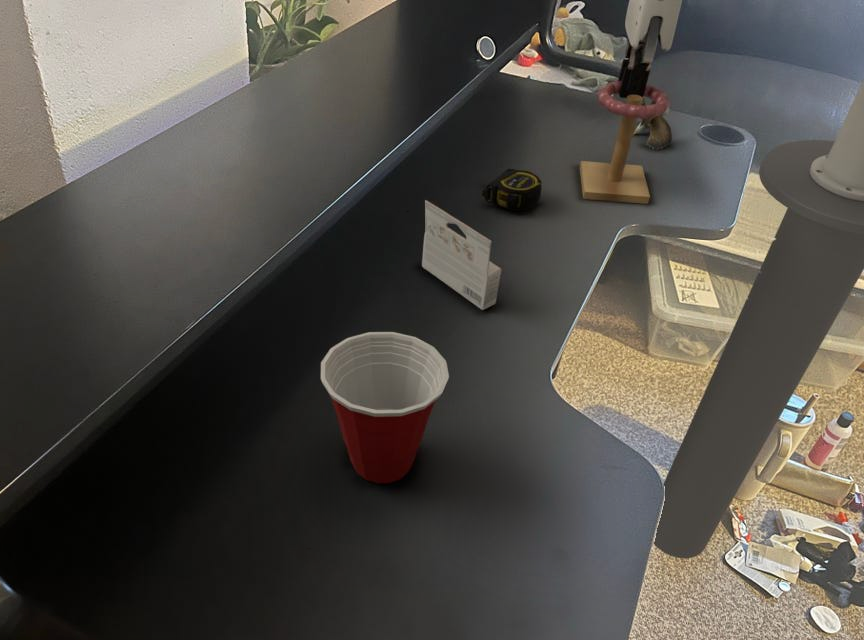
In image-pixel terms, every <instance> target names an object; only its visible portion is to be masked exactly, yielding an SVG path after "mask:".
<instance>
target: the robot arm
mask: <svg viewBox="0 0 864 640" xmlns="http://www.w3.org/2000/svg"><path fill="white" fill-rule="evenodd" d="M682 2H683V0H629V1H628V5H627V10H626V15H625V22H624V24H625V25H624V26H625V31H626V35H627V38H628V39H627V43H626V47H625V52H624V58H622V62H621V67H620V71H619V75H618V79H617V81H622V83H621V87H620V91H619V94H618V96H619V98H621V99H627V97H628V95H639V96H641V97H642V98H644V97H645V96H644V92H645V88H646V84H648V81H649V78H650V77H649V76H650V73H651V68H652V65H653V62H654V58H655V53H656V50H657V46H658V43H659V46H660V48H661V50H662V51H663V52H668V51H669V50H671V48H672V45H673V41H674V37H675V32H676V30H677V29H676V28H677V24H678V20H679V17H680V11H681V9H682ZM834 141H835V142H834V144H833V146H832V148H831V150H830V152H829V155H825V156H822V157H819V158H817V159H815V160H814V161H813V163H812V165H811V167H810V170H809V171H810V175H811V177H812V179H813V180H814V181H815V182H816V183H817V184H818V185H820V186H821V187H823V188H824V189H826V190H828V191H830V192H832V193H834V194H837V195H839V196H842V197H845V198H849V199H852V200H857V201H863V202H864V79H862V81H861V84H860V86H859V88H858V90H857V92H856V94H855V97H854V99H853V101H852V104H851V105H850V107H849V110H848V112H847V114H846V115H845V118H844V120H843V123H842V125H841V126H840V129H839V131H838V133H837V135H836V138H835V139H834Z"/></svg>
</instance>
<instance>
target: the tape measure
mask: <svg viewBox="0 0 864 640" xmlns="http://www.w3.org/2000/svg"><path fill="white" fill-rule="evenodd" d="M542 186H543V185H542V180H541V179H540V177H539V176H538V175H537V174H535V173H533V172H532V171H529V170H524V169H523V170H522V169H516V168H515V169H514V168H506V169H505V170H504V171H503V172H502V173H500V175H498V176H497V177H496V178H494V179H493V180H491V181H489V183H487V185H486V186H485V188H482V190H481V191H482V193H481V196H482V197H484V199H485V201H486V202H487V203H488V204H489V203H490V204H497V205H498V206H500V207H502V208H504V209H506V210H511V211H524V210H528V209H532V208H533V207H535V206H536V205H537V204H538V202H539V201H540V198H541V195H542V194H541V193H542Z"/></svg>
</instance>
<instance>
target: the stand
mask: <svg viewBox="0 0 864 640" xmlns="http://www.w3.org/2000/svg"><path fill="white" fill-rule="evenodd" d="M643 98H644V97H643ZM643 98H642V97H641V96H639V95H628V97H627V98H626V100H625V103H627V104H630V105H641V103H642V100H643ZM638 119H639V118H628V117H624V116H621V121H620V123H619V124H620V125H619V129H618V132H617V137H616V141H615V145H614V149H613V153H612V156H611V161H610V162H599V161H588V160H587V161H585V160H581V161H580V163H579V177H580V183H581V192H582V198H583V200H591V201H593V200H594V201H603V202H605V201H606V202H617V203H629V204H641V205H649V202H650V199H651V195H650V191H649V187H648V183H647V180H646V176H645V171H644V168H643V165H637V164H627V160H628V157H629V153H630V149H631V145H632V141H633V137H634V135H635V134H634V132H635V131H636V126H637V122H638Z"/></svg>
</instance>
